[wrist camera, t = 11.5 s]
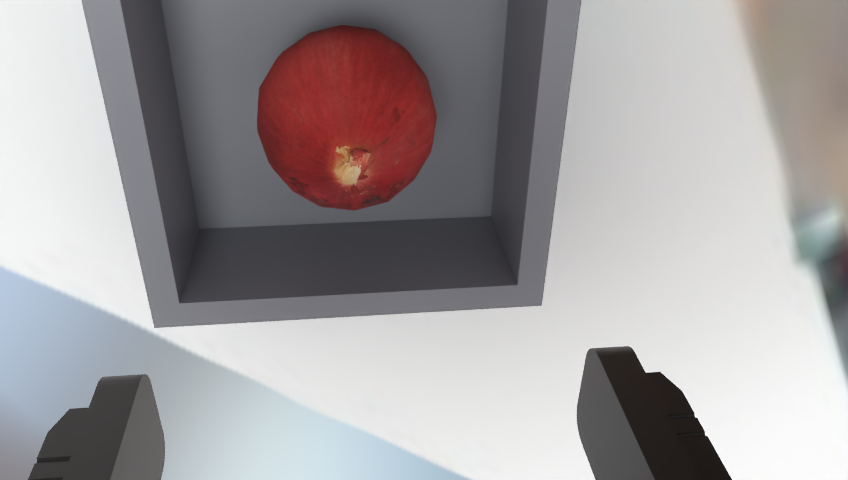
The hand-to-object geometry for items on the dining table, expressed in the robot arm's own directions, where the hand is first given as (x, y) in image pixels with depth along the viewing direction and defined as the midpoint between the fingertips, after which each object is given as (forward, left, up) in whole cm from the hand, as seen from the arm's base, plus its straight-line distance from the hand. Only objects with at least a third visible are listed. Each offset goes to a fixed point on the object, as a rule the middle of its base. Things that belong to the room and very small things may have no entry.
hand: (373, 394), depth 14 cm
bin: (0, 0, -17) cm, 17 cm away
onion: (0, 0, -17) cm, 17 cm away
